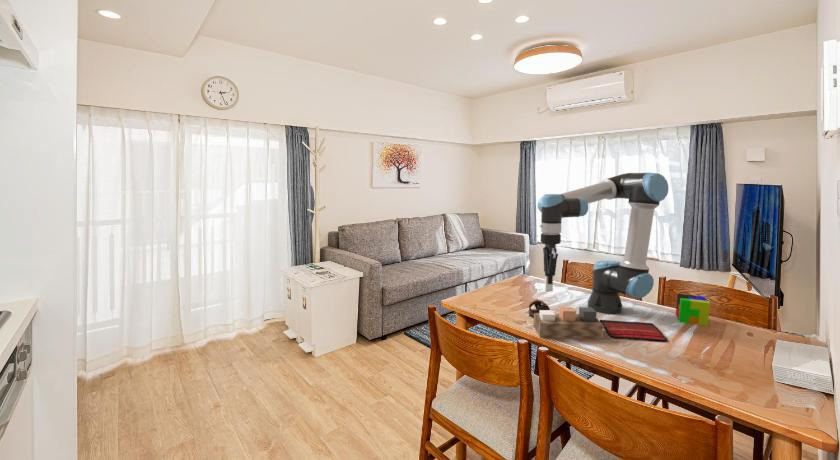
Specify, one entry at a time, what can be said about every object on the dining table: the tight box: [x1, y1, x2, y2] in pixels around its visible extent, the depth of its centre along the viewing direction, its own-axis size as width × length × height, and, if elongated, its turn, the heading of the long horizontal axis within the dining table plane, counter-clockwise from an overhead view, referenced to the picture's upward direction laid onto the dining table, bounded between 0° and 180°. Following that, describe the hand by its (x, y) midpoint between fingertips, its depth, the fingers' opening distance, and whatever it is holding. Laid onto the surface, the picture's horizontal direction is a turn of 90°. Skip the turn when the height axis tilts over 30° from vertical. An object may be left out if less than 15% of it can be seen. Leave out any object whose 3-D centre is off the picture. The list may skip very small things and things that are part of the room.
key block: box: [533, 312, 604, 340], centre depth 156 cm, size 24×11×6 cm, turn 86°
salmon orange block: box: [558, 306, 577, 321], centre depth 155 cm, size 5×5×6 cm
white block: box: [539, 310, 556, 321], centre depth 156 cm, size 5×5×6 cm
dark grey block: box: [578, 306, 598, 322], centre depth 154 cm, size 5×5×6 cm
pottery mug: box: [528, 299, 550, 316], centre depth 175 cm, size 12×10×8 cm
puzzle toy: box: [675, 293, 711, 327], centre depth 168 cm, size 10×10×10 cm
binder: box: [599, 319, 668, 343], centre depth 156 cm, size 16×2×21 cm
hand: (548, 290), depth 154 cm, fingers closed
